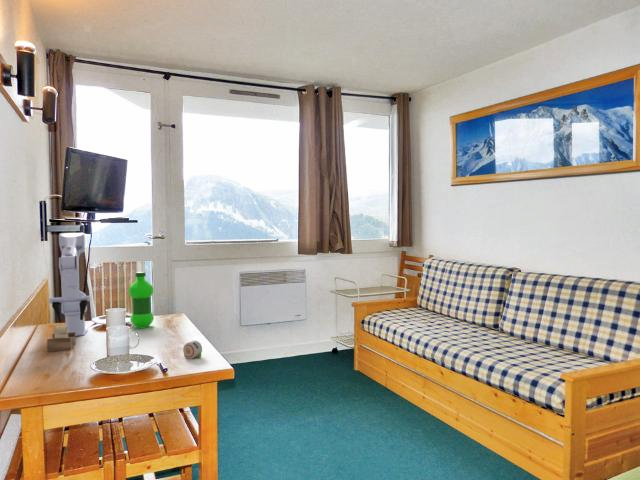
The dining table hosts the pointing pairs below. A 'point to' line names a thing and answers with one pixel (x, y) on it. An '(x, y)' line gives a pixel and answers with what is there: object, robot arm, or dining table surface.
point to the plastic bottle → (141, 301)
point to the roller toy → (192, 349)
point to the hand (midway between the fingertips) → (71, 320)
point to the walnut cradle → (61, 342)
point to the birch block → (61, 331)
